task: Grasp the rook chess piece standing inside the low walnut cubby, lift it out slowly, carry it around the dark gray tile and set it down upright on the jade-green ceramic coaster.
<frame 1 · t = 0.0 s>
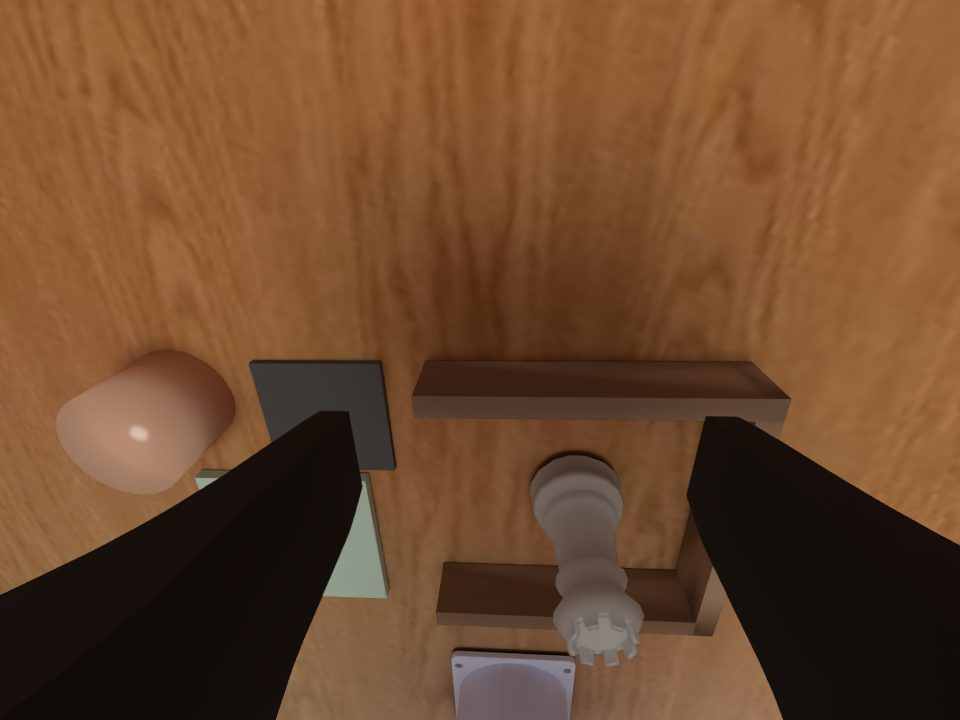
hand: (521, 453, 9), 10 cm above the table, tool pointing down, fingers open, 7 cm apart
rook chess piece: (573, 481, 23), on the table
peach short cylinder: (184, 396, 22), on the table
dark gray tile: (327, 416, 22), on the table
coaster: (301, 533, 25), on the table
cubby: (573, 485, 23), on the table
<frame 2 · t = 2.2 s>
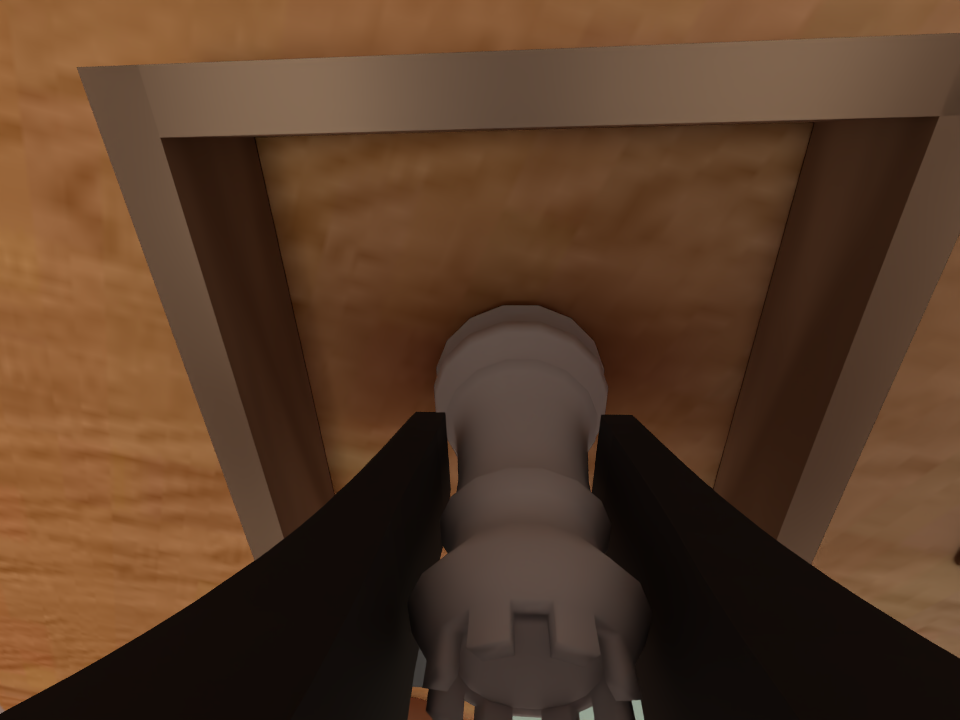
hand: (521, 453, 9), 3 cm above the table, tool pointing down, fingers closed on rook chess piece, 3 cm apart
rook chess piece: (518, 371, 12), on the table, touching gripper
dark gray tile: (414, 636, 18), on the table
coaster: (608, 689, 19), on the table
cubby: (518, 374, 12), on the table
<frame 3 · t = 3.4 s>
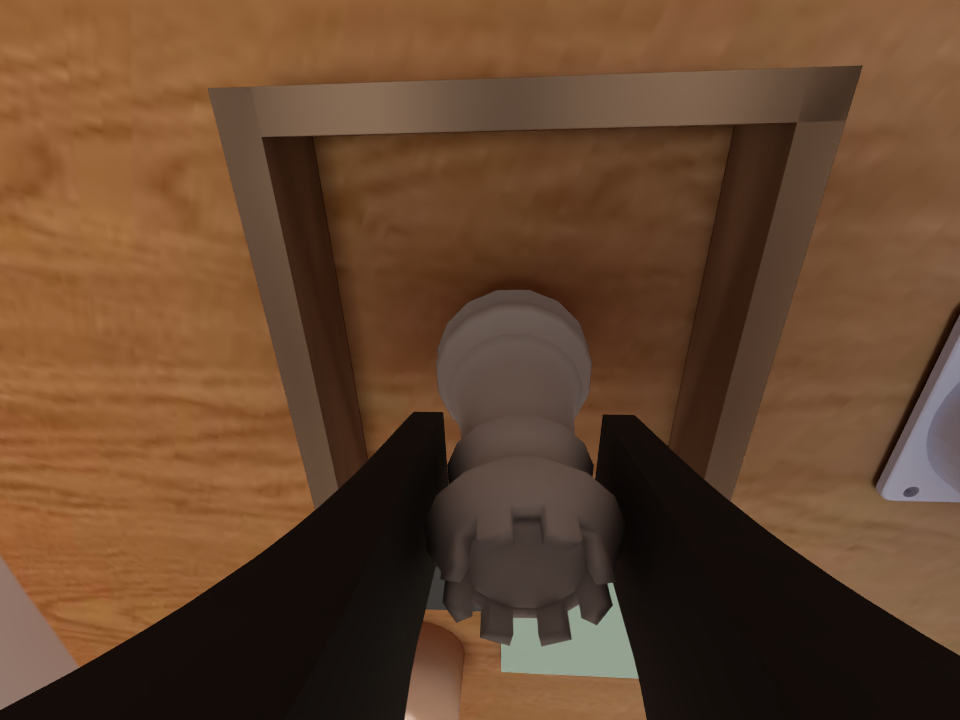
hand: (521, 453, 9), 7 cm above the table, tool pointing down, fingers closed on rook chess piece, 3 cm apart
rook chess piece: (511, 352, 14), point 2 cm above the table, touching gripper
peach short cylinder: (418, 648, 24), on the table
dark gray tile: (426, 562, 21), on the table
coaster: (593, 609, 22), on the table
cubby: (514, 326, 15), on the table
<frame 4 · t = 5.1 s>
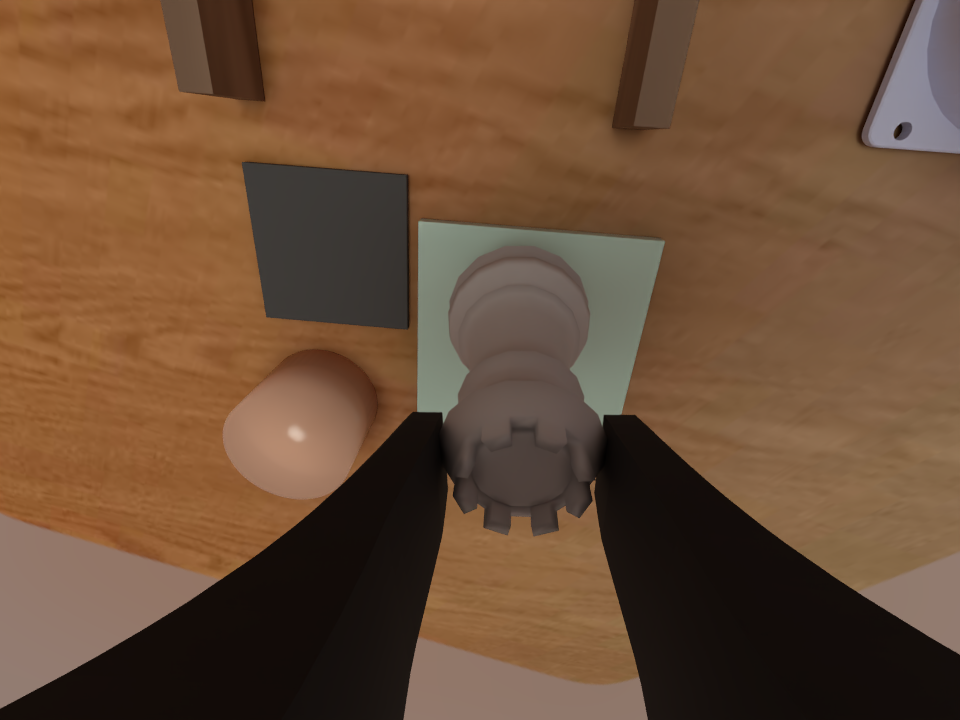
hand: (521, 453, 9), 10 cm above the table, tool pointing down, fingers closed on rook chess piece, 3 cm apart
rook chess piece: (517, 305, 15), point 3 cm above the table, touching gripper
peach short cylinder: (325, 397, 21), on the table
dark gray tile: (333, 250, 18), on the table
coaster: (526, 337, 19), on the table
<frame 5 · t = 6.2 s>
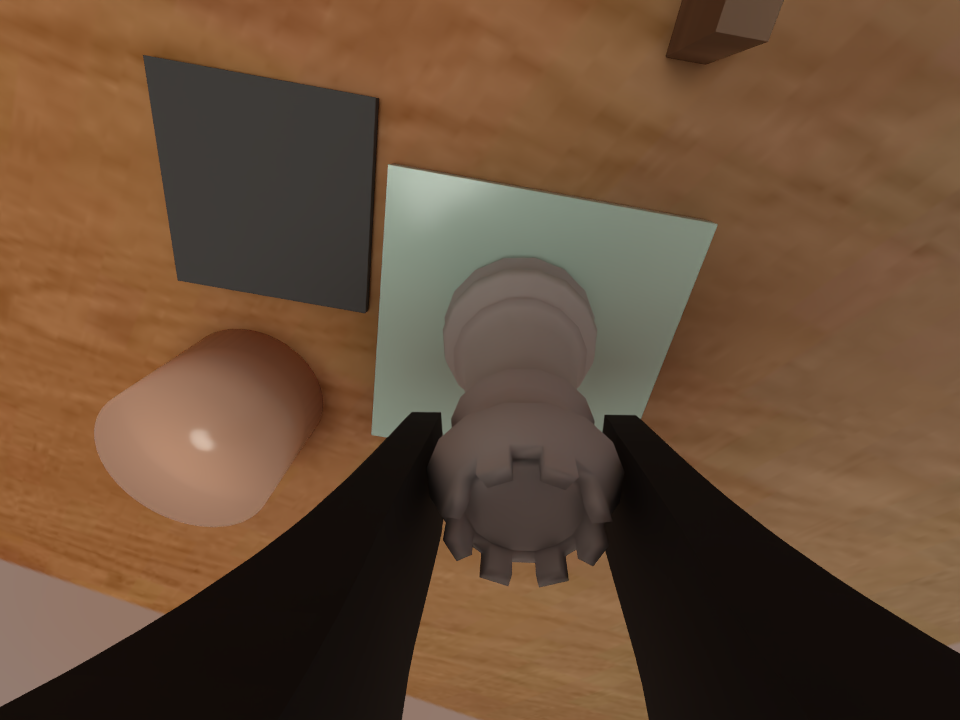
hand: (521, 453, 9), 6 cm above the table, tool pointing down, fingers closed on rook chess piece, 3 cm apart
rook chess piece: (518, 322, 14), resting on coaster, touching gripper
peach short cylinder: (255, 391, 16), on the table
dark gray tile: (271, 197, 13), on the table
coaster: (519, 336, 15), on the table
when the fingers open (5 cm above the table, at t = 6.8 s): rook chess piece stays where it is, resting on coaster.
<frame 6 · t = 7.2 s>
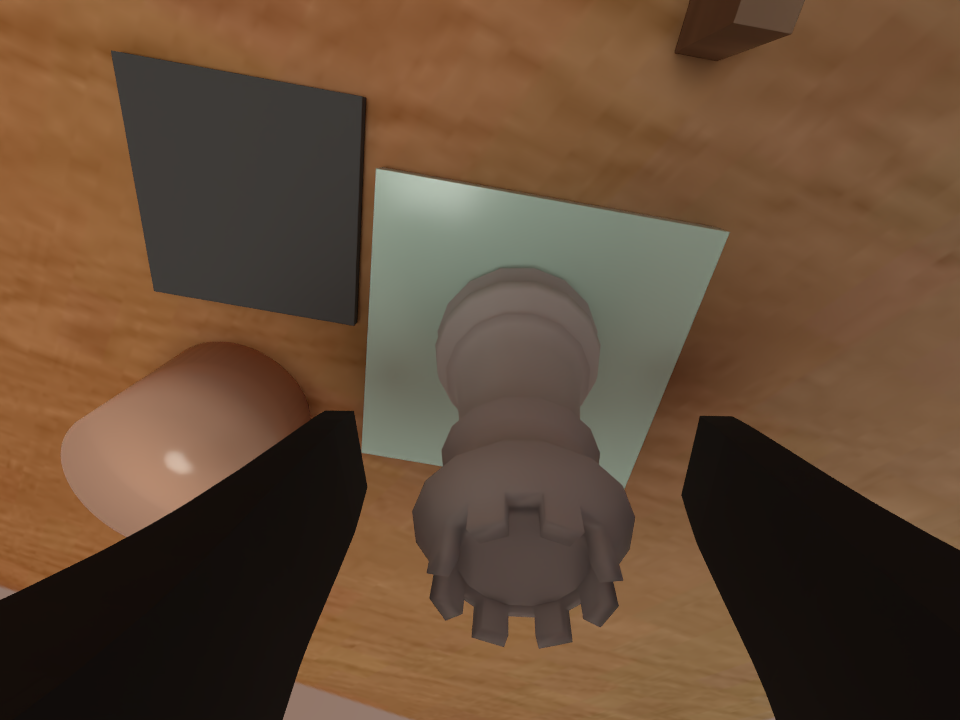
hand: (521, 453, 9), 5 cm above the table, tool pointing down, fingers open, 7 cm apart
rook chess piece: (516, 335, 13), resting on coaster
peach short cylinder: (239, 406, 15), on the table
dark gray tile: (252, 202, 12), on the table
coaster: (518, 350, 14), on the table
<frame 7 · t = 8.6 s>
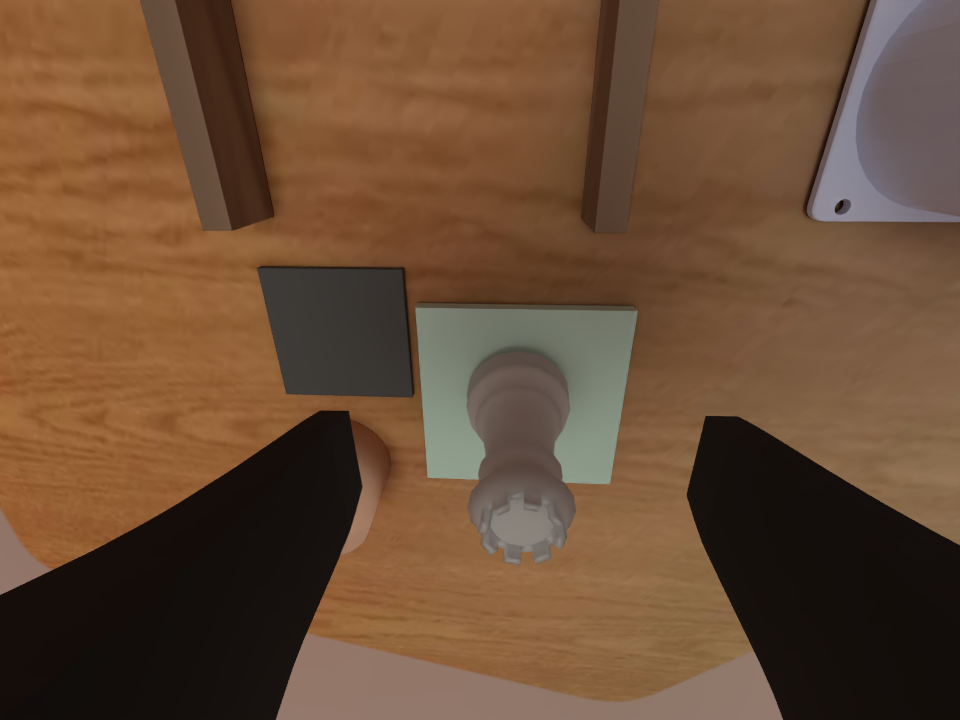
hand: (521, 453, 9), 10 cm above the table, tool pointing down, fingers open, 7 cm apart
rook chess piece: (517, 389, 20), resting on coaster
peach short cylinder: (342, 457, 23), on the table
dark gray tile: (341, 334, 20), on the table
coaster: (520, 396, 21), on the table
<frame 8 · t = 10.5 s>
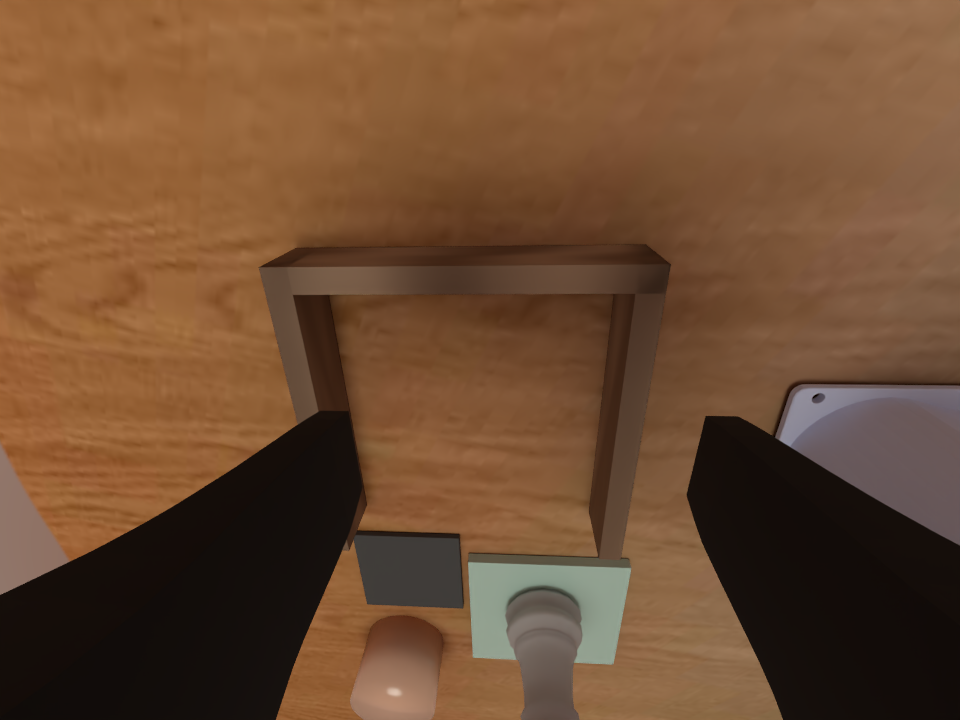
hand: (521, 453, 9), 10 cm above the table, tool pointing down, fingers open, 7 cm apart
rook chess piece: (542, 606, 27), resting on coaster
peach short cylinder: (406, 638, 30), on the table
dark gray tile: (411, 568, 27), on the table
coaster: (544, 607, 27), on the table
cubby: (471, 396, 21), on the table
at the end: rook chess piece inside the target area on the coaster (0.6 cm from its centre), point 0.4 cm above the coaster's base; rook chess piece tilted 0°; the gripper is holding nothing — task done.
